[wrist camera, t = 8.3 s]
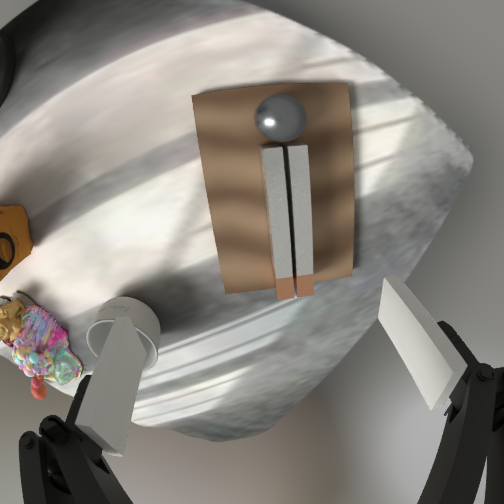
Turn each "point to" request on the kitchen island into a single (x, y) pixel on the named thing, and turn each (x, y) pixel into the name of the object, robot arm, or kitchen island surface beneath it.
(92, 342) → the teacup
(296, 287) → the tongs arm
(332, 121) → the board
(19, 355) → the candy landscape model
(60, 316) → the kitchen island surface
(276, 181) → the tongs fixed
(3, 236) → the coffee package
